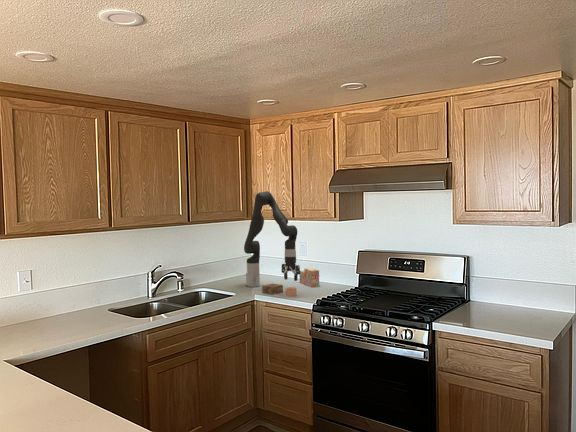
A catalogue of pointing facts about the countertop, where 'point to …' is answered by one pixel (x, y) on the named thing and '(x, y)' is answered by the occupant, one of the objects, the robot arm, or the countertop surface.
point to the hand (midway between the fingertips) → (290, 280)
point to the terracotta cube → (291, 291)
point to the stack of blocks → (309, 277)
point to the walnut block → (272, 289)
